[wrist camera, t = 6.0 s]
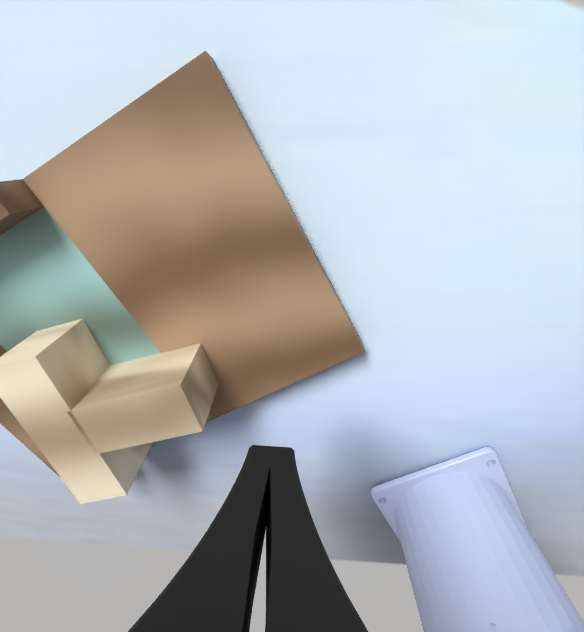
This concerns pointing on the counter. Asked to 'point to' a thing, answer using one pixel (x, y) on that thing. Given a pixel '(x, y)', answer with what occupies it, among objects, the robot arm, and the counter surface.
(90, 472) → the t block
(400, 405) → the counter surface
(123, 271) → the board
